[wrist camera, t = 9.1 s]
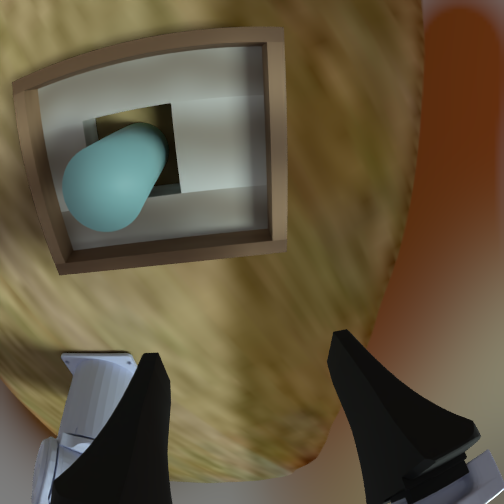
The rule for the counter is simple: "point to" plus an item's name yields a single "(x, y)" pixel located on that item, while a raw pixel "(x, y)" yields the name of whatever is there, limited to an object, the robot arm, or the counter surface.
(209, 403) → the counter surface
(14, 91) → the box
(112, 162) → the peg
